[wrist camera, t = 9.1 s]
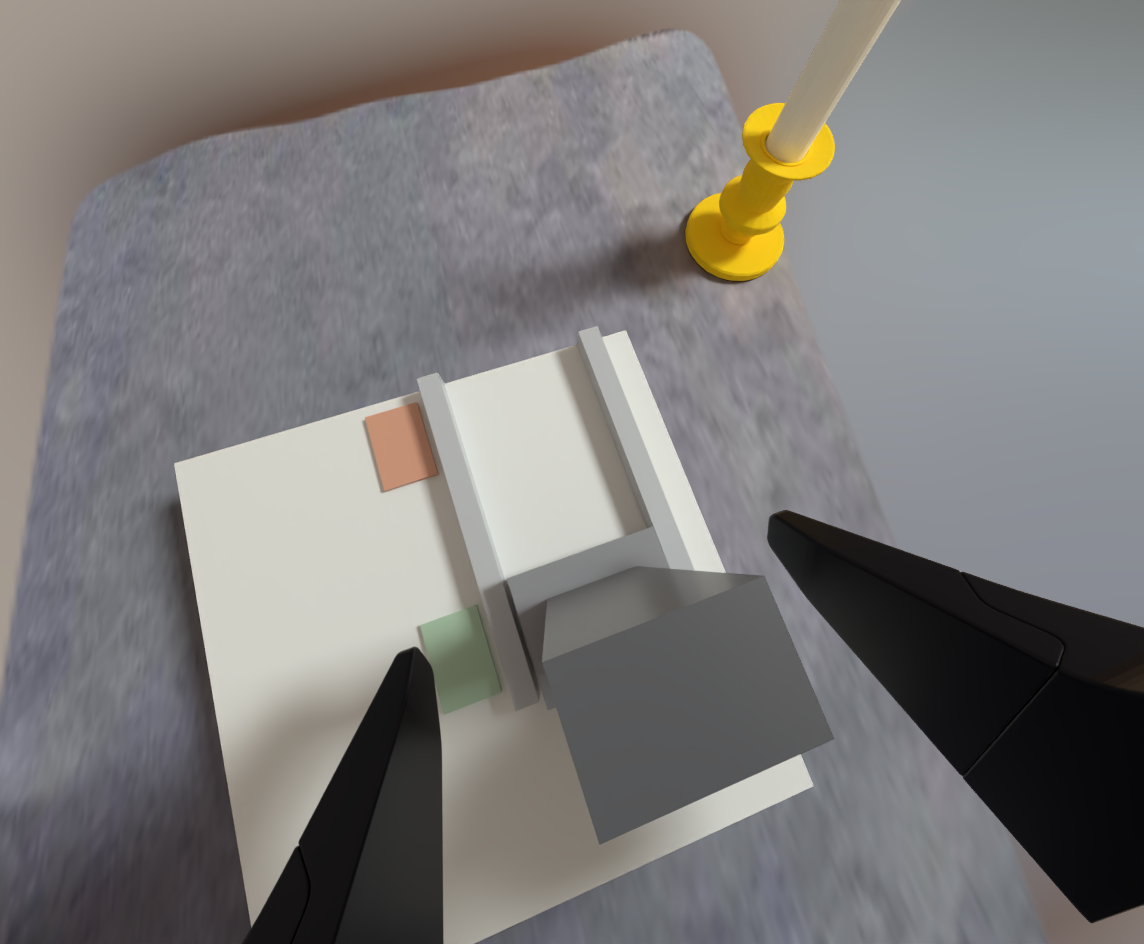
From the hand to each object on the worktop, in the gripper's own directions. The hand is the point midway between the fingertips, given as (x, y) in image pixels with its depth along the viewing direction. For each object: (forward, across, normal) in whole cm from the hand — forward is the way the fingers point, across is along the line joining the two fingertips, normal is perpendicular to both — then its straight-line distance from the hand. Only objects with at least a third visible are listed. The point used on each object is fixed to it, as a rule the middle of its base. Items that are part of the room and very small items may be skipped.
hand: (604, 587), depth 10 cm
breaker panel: (+6, +4, +6) cm, 9 cm away
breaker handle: (+3, 0, +4) cm, 5 cm away
